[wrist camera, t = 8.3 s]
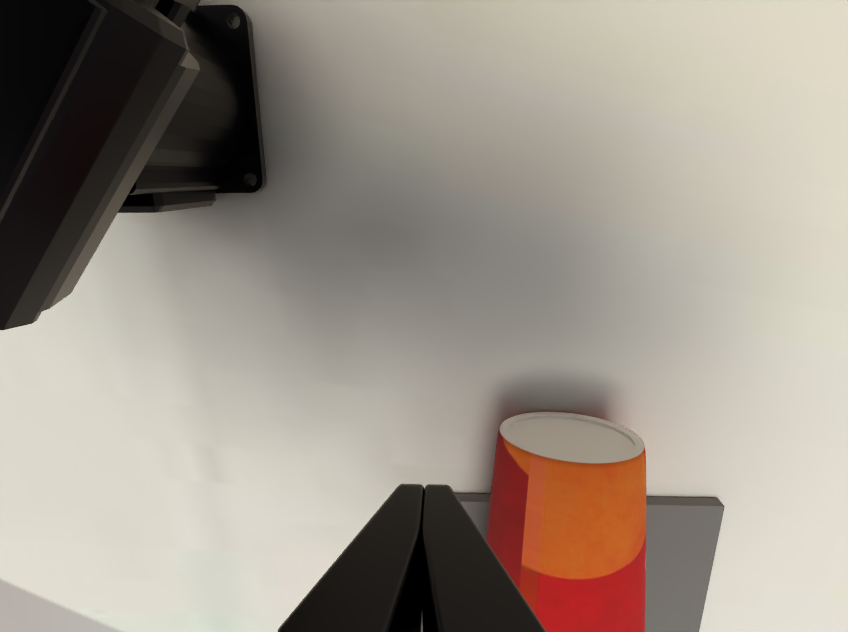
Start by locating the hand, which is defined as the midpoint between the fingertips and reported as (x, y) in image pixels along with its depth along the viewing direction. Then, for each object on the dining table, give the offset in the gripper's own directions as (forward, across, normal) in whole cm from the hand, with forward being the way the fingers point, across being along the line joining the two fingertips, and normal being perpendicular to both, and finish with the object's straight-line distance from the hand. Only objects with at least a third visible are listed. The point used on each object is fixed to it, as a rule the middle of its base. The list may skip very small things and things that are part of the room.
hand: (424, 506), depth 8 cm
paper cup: (+10, -5, +4) cm, 12 cm away
